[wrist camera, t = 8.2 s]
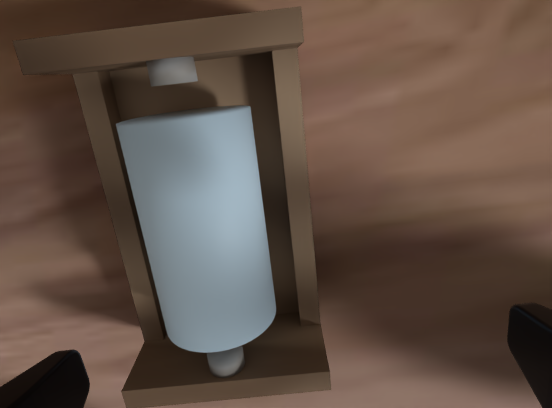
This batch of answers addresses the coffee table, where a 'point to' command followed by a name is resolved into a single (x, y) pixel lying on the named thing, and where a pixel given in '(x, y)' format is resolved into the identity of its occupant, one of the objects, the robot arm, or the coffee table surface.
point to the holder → (272, 171)
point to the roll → (202, 223)
